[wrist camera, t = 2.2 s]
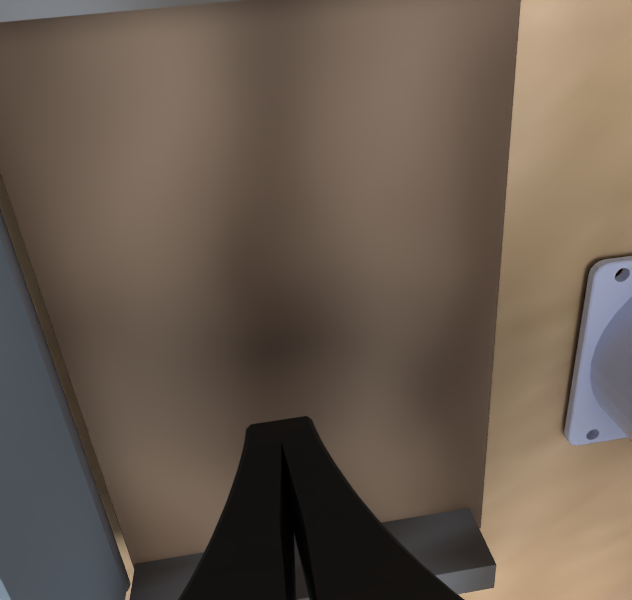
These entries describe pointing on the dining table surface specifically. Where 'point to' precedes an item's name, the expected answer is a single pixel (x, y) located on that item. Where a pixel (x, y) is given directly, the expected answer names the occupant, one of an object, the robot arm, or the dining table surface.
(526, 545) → the dining table surface
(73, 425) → the bar
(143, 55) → the flatbed
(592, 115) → the dining table surface
